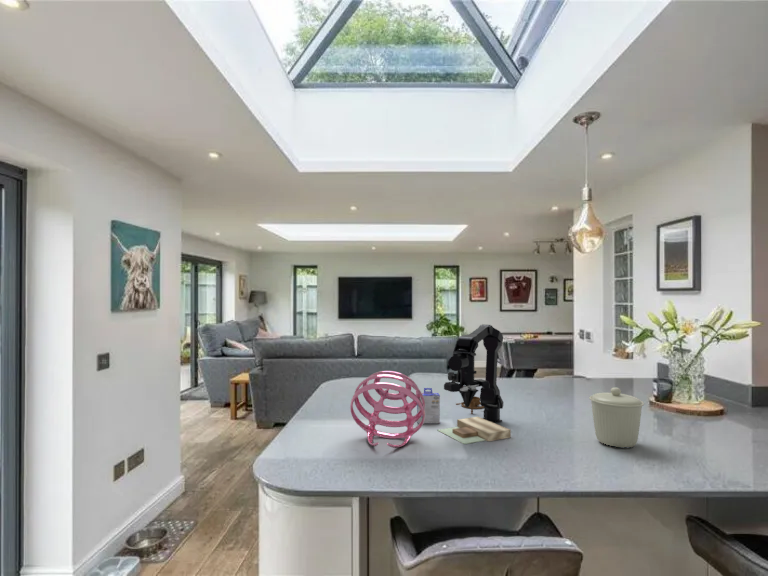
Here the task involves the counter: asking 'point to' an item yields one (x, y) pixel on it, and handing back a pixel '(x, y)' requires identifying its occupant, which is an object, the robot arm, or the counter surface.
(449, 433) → the sage mat
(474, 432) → the walnut coaster
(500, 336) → the robot arm
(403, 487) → the counter surface
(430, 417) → the ink cartridge box
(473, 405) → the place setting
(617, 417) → the canister
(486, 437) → the board
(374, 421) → the spiral basket
